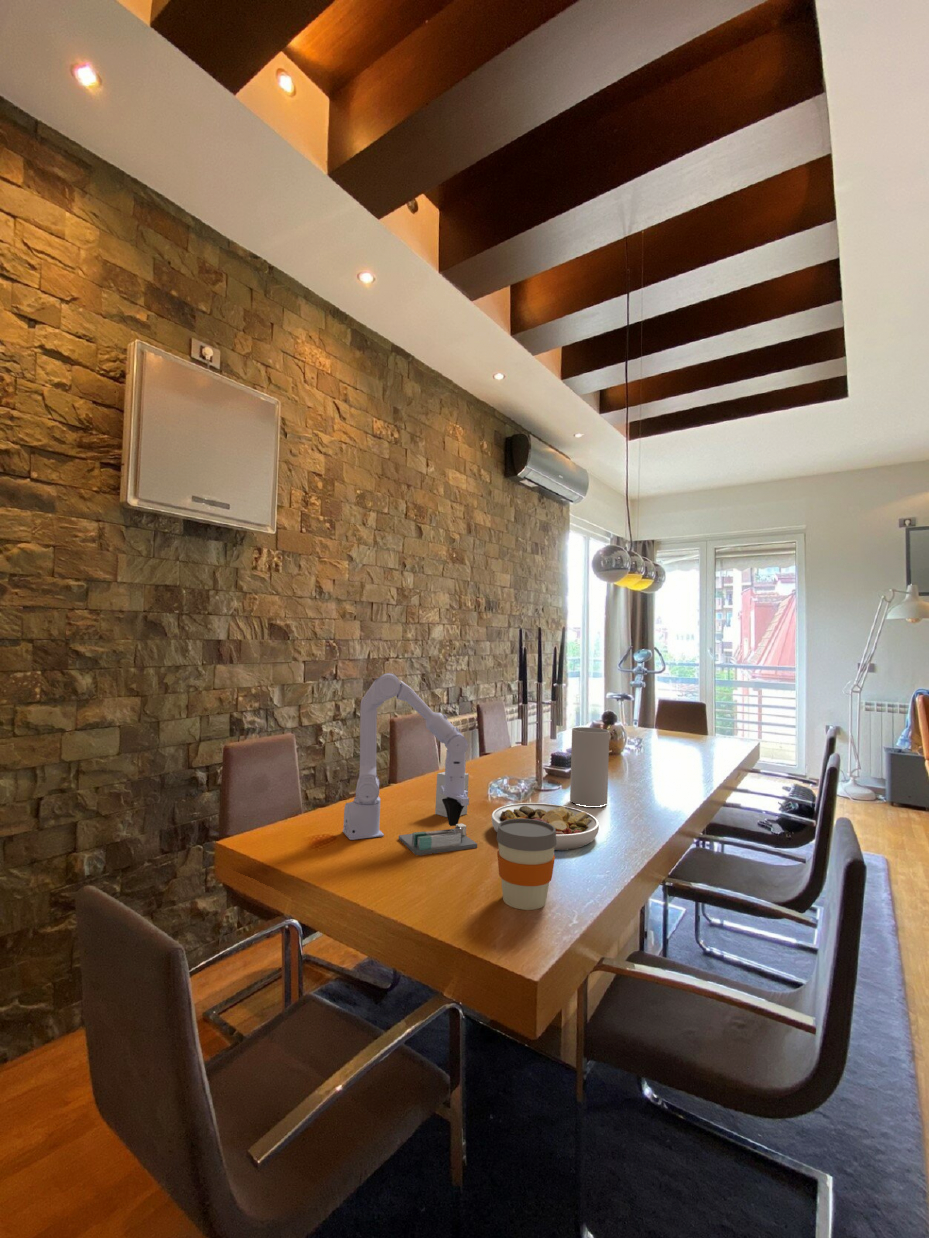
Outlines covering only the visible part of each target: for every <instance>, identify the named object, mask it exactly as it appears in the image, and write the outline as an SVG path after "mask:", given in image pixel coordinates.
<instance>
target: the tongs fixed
mask: <svg viewBox="0 0 929 1238" xmlns="http://www.w3.org/2000/svg"><path fill="white" fill-rule="evenodd" d="M454 829H455V833H448V834H440V835H432V836H430V835H428V836H419V837H418V840H417V849H418V850H426V849H433V848H441V847H448V846H456V845H461V843H462V839H463V827H456V826H454Z"/></svg>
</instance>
